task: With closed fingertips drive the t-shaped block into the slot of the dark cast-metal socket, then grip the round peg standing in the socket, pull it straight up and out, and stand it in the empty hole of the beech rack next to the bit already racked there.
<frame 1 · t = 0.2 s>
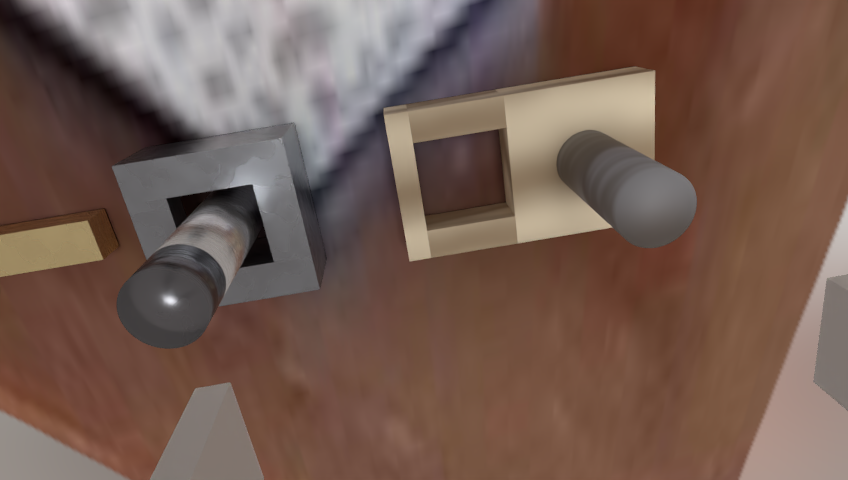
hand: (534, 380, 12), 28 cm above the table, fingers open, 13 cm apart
socket: (240, 205, 39), on the table
t-shaped block: (22, 247, 38), point 1 cm above the table, slide at 0.0 cm
round peg: (210, 246, 32), in the socket
rack: (516, 159, 39), on the table
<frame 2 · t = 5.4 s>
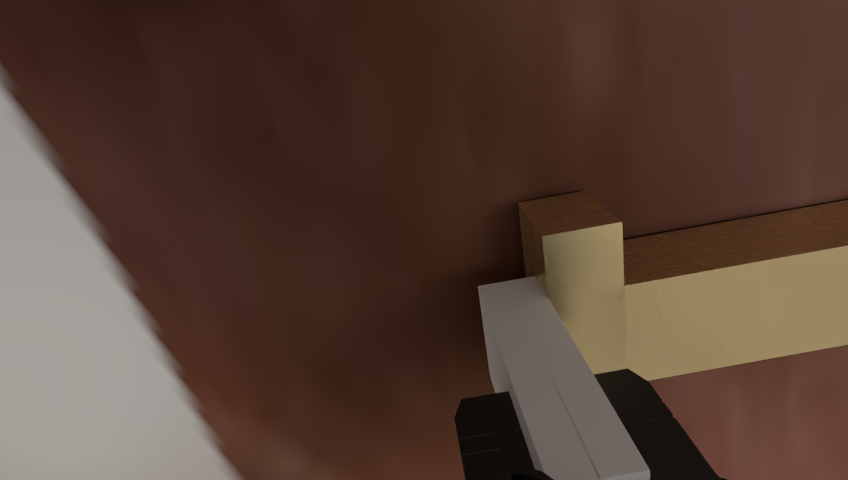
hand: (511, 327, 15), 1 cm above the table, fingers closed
t-shaped block: (746, 287, 15), point 1 cm above the table, slide at 0.2 cm, touching gripper
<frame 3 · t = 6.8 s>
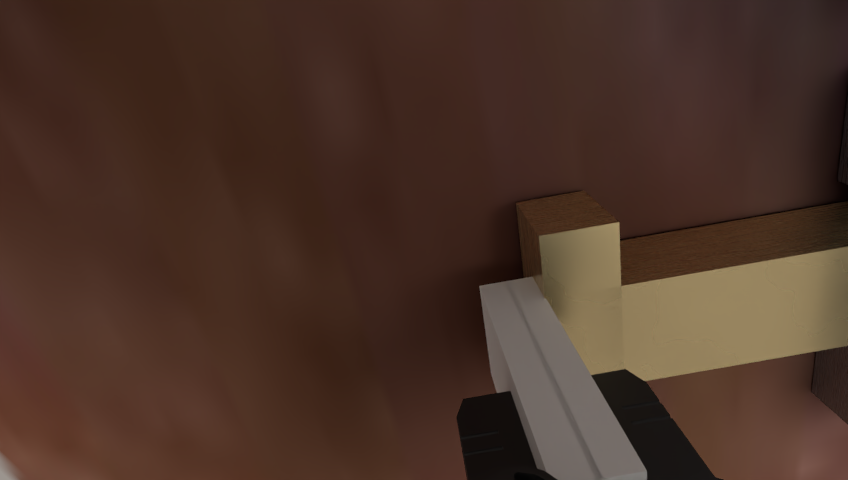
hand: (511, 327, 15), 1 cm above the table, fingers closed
t-shaped block: (744, 288, 15), point 1 cm above the table, slide at 6.3 cm, touching gripper
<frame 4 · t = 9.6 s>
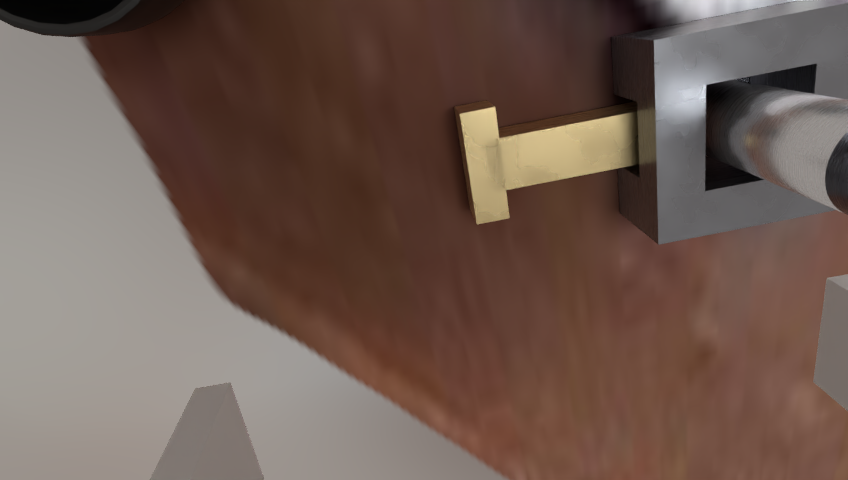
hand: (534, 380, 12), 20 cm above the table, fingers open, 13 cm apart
socket: (703, 113, 32), on the table
t-shaped block: (565, 146, 30), point 1 cm above the table, slide at 6.2 cm
round peg: (794, 139, 25), in the socket
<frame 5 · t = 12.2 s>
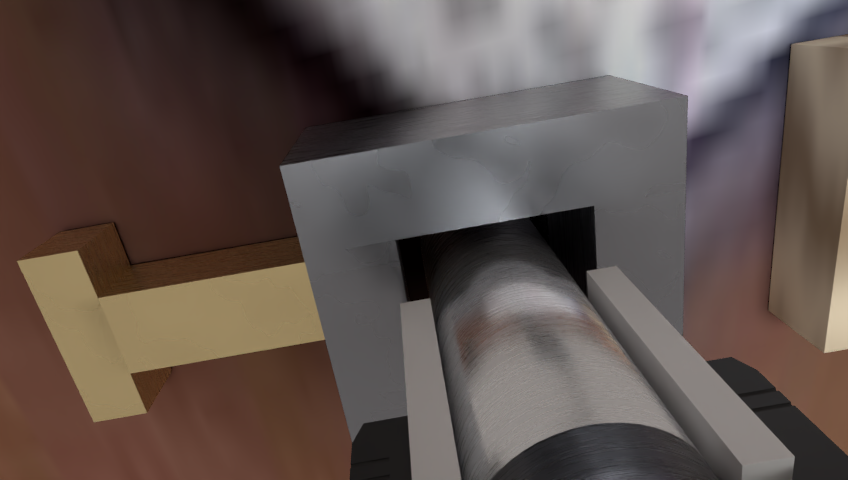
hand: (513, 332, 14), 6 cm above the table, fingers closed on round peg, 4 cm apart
socket: (476, 242, 20), on the table
t-shaped block: (239, 298, 19), point 1 cm above the table, slide at 6.2 cm
round peg: (526, 362, 13), in the socket, touching gripper
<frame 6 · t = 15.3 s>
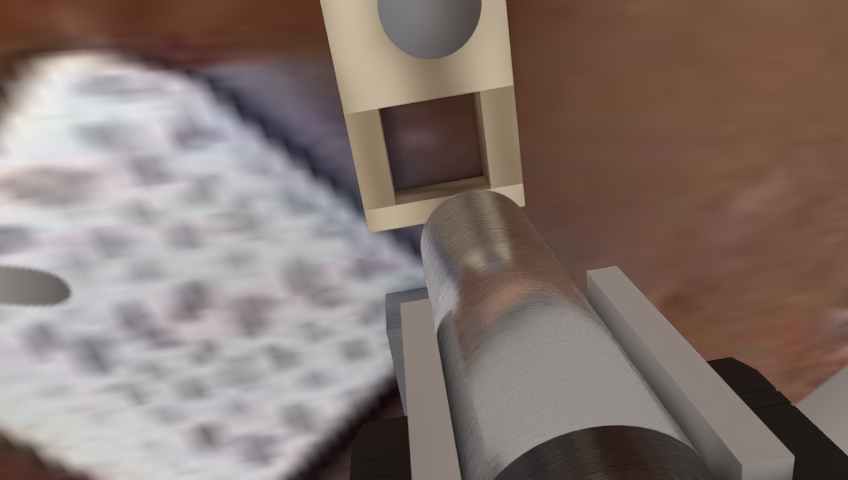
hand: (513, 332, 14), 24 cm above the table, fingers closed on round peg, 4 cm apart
socket: (463, 341, 42), on the table
round peg: (526, 364, 13), point 25 cm above the table, touching gripper
rack: (422, 76, 35), on the table
when the fingers open (7 cm above the table, at t = 18.5 s): round peg stays where it is, resting in rack.
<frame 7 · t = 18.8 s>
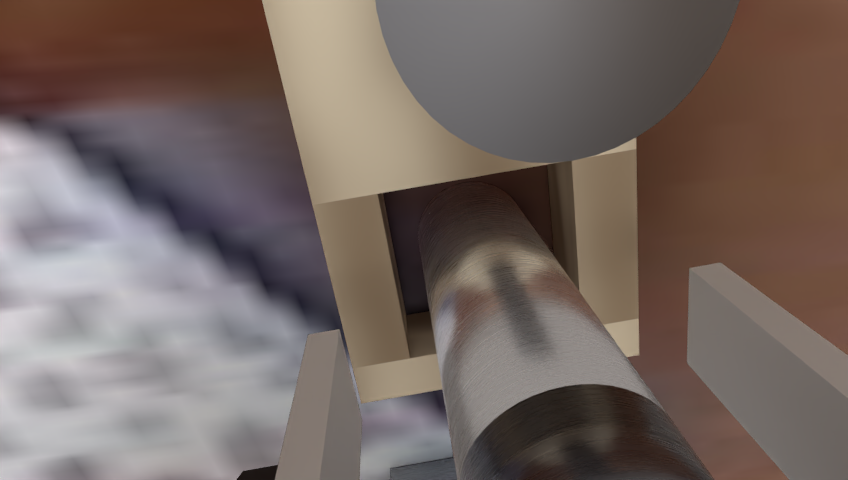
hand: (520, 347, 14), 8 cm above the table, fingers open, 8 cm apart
round peg: (515, 341, 14), resting in rack
rack: (457, 126, 19), on the table
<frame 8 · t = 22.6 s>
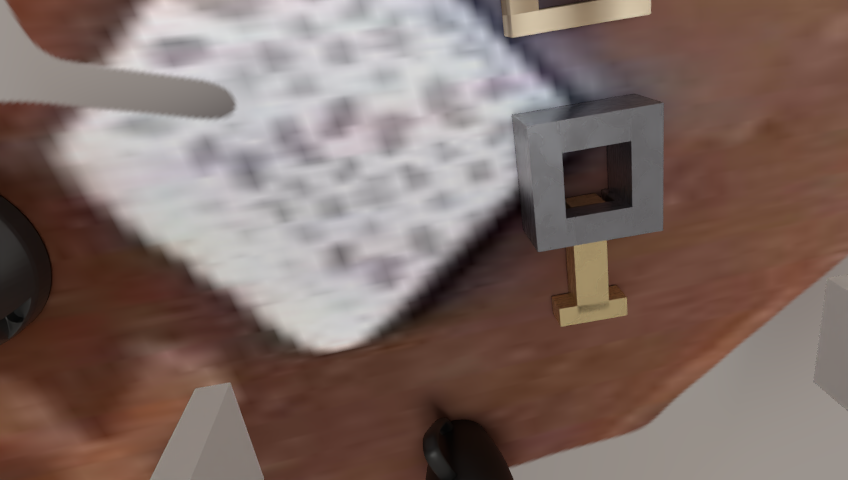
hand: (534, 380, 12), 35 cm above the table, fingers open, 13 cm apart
socket: (576, 164, 47), on the table
t-shaped block: (586, 259, 49), point 1 cm above the table, slide at 6.2 cm
mug: (452, 427, 57), on the table
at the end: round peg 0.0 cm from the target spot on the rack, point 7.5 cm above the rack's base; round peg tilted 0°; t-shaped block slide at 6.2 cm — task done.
